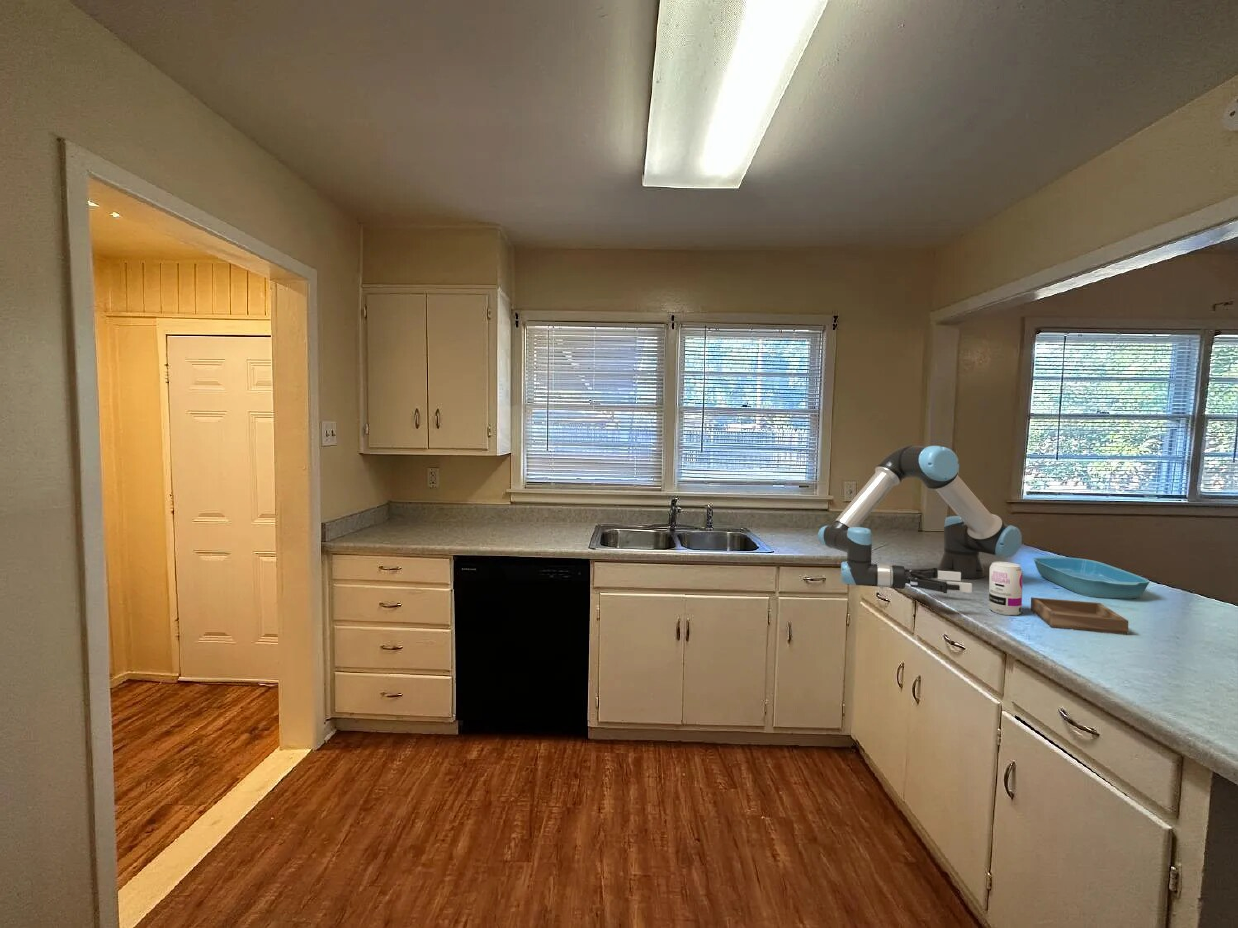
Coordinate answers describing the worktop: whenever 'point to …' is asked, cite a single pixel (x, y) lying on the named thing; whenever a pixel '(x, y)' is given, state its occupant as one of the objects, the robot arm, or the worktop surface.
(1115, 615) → the walnut tray
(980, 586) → the worktop surface
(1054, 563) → the casserole dish
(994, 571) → the supplement can
